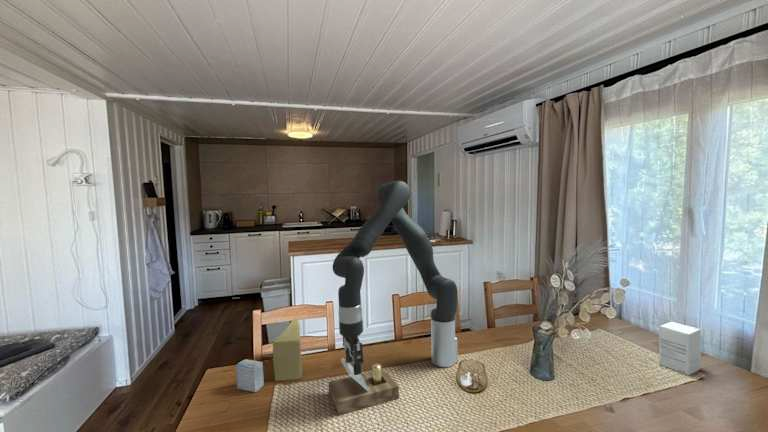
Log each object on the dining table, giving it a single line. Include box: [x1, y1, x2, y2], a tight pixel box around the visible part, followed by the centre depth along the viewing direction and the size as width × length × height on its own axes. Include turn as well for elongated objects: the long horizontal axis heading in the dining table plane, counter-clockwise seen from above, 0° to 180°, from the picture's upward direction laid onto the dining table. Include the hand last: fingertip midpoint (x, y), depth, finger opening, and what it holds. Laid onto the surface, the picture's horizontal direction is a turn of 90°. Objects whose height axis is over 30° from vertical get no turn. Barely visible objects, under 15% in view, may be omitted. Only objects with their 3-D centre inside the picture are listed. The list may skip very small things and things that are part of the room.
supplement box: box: [658, 321, 702, 376], centre depth 117 cm, size 9×9×15 cm
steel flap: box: [340, 357, 370, 391], centre depth 102 cm, size 9×10×1 cm
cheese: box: [272, 319, 303, 382], centre depth 124 cm, size 22×10×15 cm, turn 6°
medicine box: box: [235, 358, 265, 393], centre depth 110 cm, size 8×4×9 cm, turn 71°
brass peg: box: [371, 363, 382, 386], centre depth 105 cm, size 3×3×9 cm
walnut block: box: [328, 368, 400, 416], centre depth 104 cm, size 20×12×4 cm, turn 113°
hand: (353, 367), depth 102 cm, fingers open, 8 cm apart
